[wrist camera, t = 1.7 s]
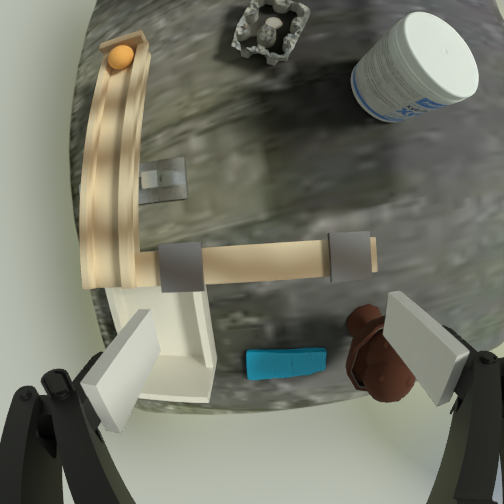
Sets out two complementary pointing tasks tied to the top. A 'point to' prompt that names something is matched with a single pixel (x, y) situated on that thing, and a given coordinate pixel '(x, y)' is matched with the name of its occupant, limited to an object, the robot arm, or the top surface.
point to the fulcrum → (162, 180)
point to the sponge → (284, 362)
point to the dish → (173, 340)
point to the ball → (120, 57)
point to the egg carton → (270, 29)
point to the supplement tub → (414, 70)
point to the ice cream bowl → (375, 358)
